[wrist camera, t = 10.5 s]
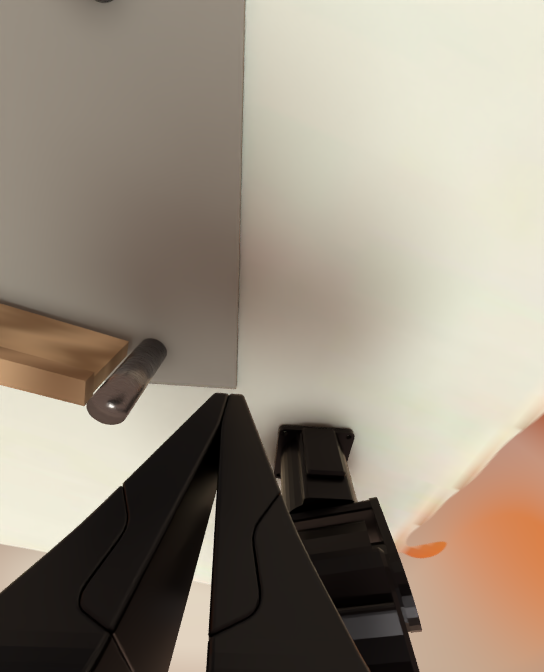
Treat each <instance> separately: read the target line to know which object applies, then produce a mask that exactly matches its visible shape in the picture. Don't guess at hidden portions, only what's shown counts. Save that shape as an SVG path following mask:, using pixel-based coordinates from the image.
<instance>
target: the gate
mask: <svg viewBox="0 0 544 672" xmlns="http://www.w3.org/2000/svg"><path fill="white" fill-rule="evenodd" d="M128 344H129V341H126V340H122V339H119V338H116V337H112V336H109V335H105V334H102V333H99V332H95V331H92V330H89V329H85V328H82V327H78V326H75V325H72V324H68V323H65V322H62V321H58V320H55V319H51V318H48V317H45V316H41V315H38V314H34V313H31V312H28V311H24V310H21V309H18V308H14V307H11V306H7V305H4V304H1V303H0V385H3V386H7V387H11V388H15V389H19V390H23V391H27V392H31V393H35V394H39V395H42V396H46V397H50V398H54V399H58V400H62V401H66V402H70V403H74V404H78V405H82V406H85V405H86V403H87V402H88V400H89V399H90V398H91V397H92V396H93V392H94V391H95V390H96V389H97V388H98V387H99V386H100V384H101V383H102V382H103V381H104V380H105V379H106V378H107V377H108V376H109V375H110V373H111V372H112V371H113V370H114V369H115V368H116V367H117V366H118V365H119V364H120V363H121V361H122V360H123V359H124V358H125V357H126V356H127V351H128Z"/></svg>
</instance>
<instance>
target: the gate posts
mask: <svg viewBox="0 0 544 672" xmlns="http://www.w3.org/2000/svg"><path fill="white" fill-rule="evenodd" d="M95 1H97V2H100V3H109V2H111V1H113V0H95ZM166 356H167V349H166V347H165V345H164V344H163V343H162V342H160V341H159V340H157V339H153V338H148V339H144V340H143V341H142V342H141V343H140V344H139V345H138V346H137V347H136V348H135V349H134V350H133V352H132V353H131V354H130V355H129V356H128V357H127V358H126V359H125V360H124V362H123V363H122V364H121V365H120V366H119V367H118V368H117V369H116V370H115V372H114V373H113V374H112V375H111V376H110V377H109V378H108V379H107V380H106V382H105V383H104V384H103V385H102V386H101V387H100V388H99V389H98V390H97V392H96V393H95V394H94V395H93V396H92V397H91V398H90V399H89V400H88V402H87V410H88V412H89V414H90V415H91V416H92V417H93V418H94V419H95V420H97V421H99V422H101V423H104V424H109V425H115V424H119V423H121V422H123V421H124V420H125V418H126V417H127V415H128V414H129V412H130V411H131V409H132V408H133V406H134V405H135V403H136V402H137V400H138V399H139V397H140V396H141V394H142V393H143V391H144V390H145V388H146V387H147V385H148V384H149V382H150V381H151V379H152V378H153V376H154V375H155V373H156V372H157V370H158V369H159V367H160V366H161V364H162V363H163V361H164V360H165V358H166Z"/></svg>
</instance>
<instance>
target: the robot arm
mask: <svg viewBox="0 0 544 672" xmlns="http://www.w3.org/2000/svg"><path fill="white" fill-rule="evenodd" d="M283 431H286V432H283ZM347 435H349V436H347ZM354 437H355V436H354V433H353V431H352V430H349V429H333V428H317V427H301V426H281V427H280V428H279V432H278V440H277V448H276V456H275V464H274V473H273V470H272V468H271V465H270V462H269V460H268V457H267V455H266V452H265V449H264V447H263V444H262V442H261V439H260V436H259V434H258V431H257V429H256V426H255V423H254V421H253V418H252V416H251V413H250V410H249V408H248V405H247V402H246V400H245V397H244V396H243V395H241V394H230V395H228V394H226V393H215V394H213V395H212V396H211V397H210V398H209V399H208V400H207V401H206V402H205V403H204V404H203V405H202V406H201V407H200V408H199V409H198V410H197V411H196V412H195V413H194V414H193V415H192V416H191V417H190V418H189V419H188V420H187V421H186V422H185V423H184V424H183V425H182V426H181V427H180V428H179V429H178V430H177V431H176V432H175V433H174V434H173V435H172V436H171V437H170V438H169V439H167V440H166V441H165V442H164V443H163V444H162V445H161V446H160V447H159V448H158V449H157V450H156V451H155V452H154V453H153V454H152V455H151V456H150V457H149V458H148V459H147V460H146V461H145V462H144V463H143V464H142V465H141V466H140V467H139V468H138V469H137V470H136V471H135V472H134V473H133V474H132V475H131V476H130V477H129V478H128V479H127V480H126V481H125V482H124V483H123V487H122V486H120V487H119V488H118V489H117V490H116V491H115V492H114V493H113V494H112V495H110V496H109V497H108V498H107V499H106V500H105V501H104V502H103V503H102V504H101V505H100V506H99V507H98V508H97V509H96V510H95V511H94V512H93V513H92V514H91V515H90V516H88V517H87V518H86V519H85V520H84V521H83V522H82V523H81V524H80V525H79V526H78V527H77V528H75V529H74V530H73V531H72V532H71V533H70V534H69V535H67V536H66V537H65V538H64V539H63V540H62V541H61V542H59V543H58V544H57V545H56V546H55V547H54V548H53V549H51V550H50V551H49V552H48V553H47V554H46V555H44V556H43V557H42V558H41V559H40V560H39V561H37V562H36V563H35V564H34V565H33V566H31V567H30V568H29V569H28V570H27V571H25V572H24V573H23V574H22V575H21V576H20V577H18V578H17V579H16V580H15V581H14V582H12V583H11V584H10V585H9V586H8V587H7V588H5V589H4V590H3V591H2V592H1V593H0V672H168V669H169V666H170V661H171V658H172V654H173V650H174V647H175V643H176V640H177V636H178V632H179V628H180V625H181V621H182V617H183V613H184V610H185V606H186V602H187V598H188V595H189V591H190V587H191V583H192V580H193V576H194V572H195V569H196V565H197V561H198V557H199V554H200V550H201V546H202V542H203V539H204V535H205V531H206V528H207V524H208V520H209V516H210V513H211V509H212V505H213V501H214V498H215V494H216V490H217V497H216V514H215V531H214V548H213V565H212V582H211V599H210V600H211V601H210V617H209V618H210V619H209V633H208V635H209V641H208V650H207V666H206V672H419V669H418V666H417V662H416V658H415V655H414V652H413V648H412V645H411V642H410V638H409V634H408V632H411V633H412V632H421V631H422V628H421V624H420V620H419V616H418V613H417V609H416V606H415V603H414V600H413V596H412V593H411V590H410V587H409V583H408V581H407V577H406V575H405V571H404V569H403V566H402V563H401V560H400V558H399V555H398V552H397V549H396V546H395V544H394V541H393V539H392V536H391V533H390V531H389V528H388V525H387V523H386V520H385V517H384V515H383V512H382V509H381V507H380V504H379V502H378V499H377V497H375V498H369V500H366V501H361V502H357V498H356V494H355V491H354V487H353V483H352V480H351V476H350V473H349V469H348V465H347V460H348V457H349V454H350V450H351V447H352V444H353V441H354ZM276 478H278V479H281V491H280V488H279V486H278V483H277V481H276ZM281 493H282V495H281Z"/></svg>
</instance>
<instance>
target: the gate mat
mask: <svg viewBox="0 0 544 672" xmlns="http://www.w3.org/2000/svg"><path fill="white" fill-rule="evenodd" d="M244 34H245V0H113V1H111V2H109V3H100V2H97V1H95V0H0V303H1V304H4V305H7V306H11V307H14V308H18V309H21V310H24V311H28V312H31V313H34V314H38V315H41V316H45V317H48V318H51V319H55V320H58V321H62V322H65V323H68V324H72V325H75V326H78V327H82V328H85V329H89V330H92V331H95V332H99V333H102V334H105V335H109V336H112V337H116V338H119V339H122V340H126V341H129V344H128V351H127V356H126V357H125V358H124V359H123V360H122V361H121V363H120V364H119V365H118V366H117V367H116V368H115V369H114V370H113V371H112V372H111V373H110V375H109V376H108V377H107V378H106V379H105V380H107V379H108V378H109V377H110V376H111V375H112V374H113V373H114V372H115V370H116V369H117V368H118V367H119V366H120V365H121V364H122V363H123V362H124V360H125V359H126V358H127V357H128V356H129V355H130V354H131V353H132V352H133V350H134V349H135V348H136V347H137V346H138V345H139V344H140V343H141V342H142V341H143V340H144V339H148V338H153V339H157V340H159V341H160V342H162V343H163V344H164V345H165V347H166V349H167V356H166V358H165V360H164V361H163V363H162V364H161V366H160V367H159V369H158V370H157V372H156V373H155V375H154V376H153V378H152V379H151V381H150V382H149V383H152V384H167V385H182V386H197V387H213V388H228V389H236V386H237V342H238V298H239V254H240V210H241V166H242V122H243V78H244Z"/></svg>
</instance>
